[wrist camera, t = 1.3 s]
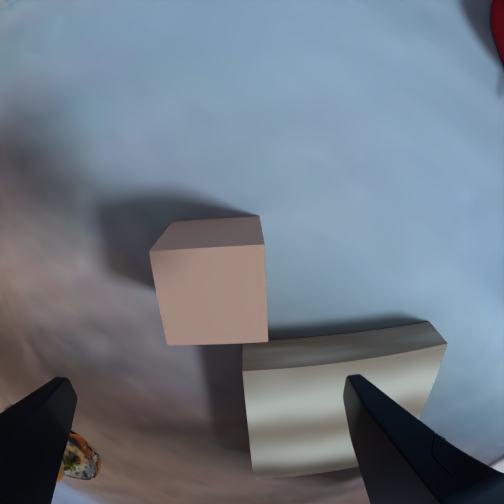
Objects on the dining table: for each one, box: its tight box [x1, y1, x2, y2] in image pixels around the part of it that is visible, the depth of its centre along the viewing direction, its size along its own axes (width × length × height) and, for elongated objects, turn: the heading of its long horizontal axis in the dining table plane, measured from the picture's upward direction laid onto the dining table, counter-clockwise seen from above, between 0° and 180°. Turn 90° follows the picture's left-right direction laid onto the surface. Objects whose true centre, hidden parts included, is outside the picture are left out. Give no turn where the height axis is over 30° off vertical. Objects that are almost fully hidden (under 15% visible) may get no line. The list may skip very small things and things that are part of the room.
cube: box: [149, 216, 268, 345], centre depth 17 cm, size 5×5×5 cm
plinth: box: [242, 322, 448, 479], centre depth 22 cm, size 14×14×3 cm
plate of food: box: [57, 432, 101, 482], centre depth 23 cm, size 12×12×8 cm
